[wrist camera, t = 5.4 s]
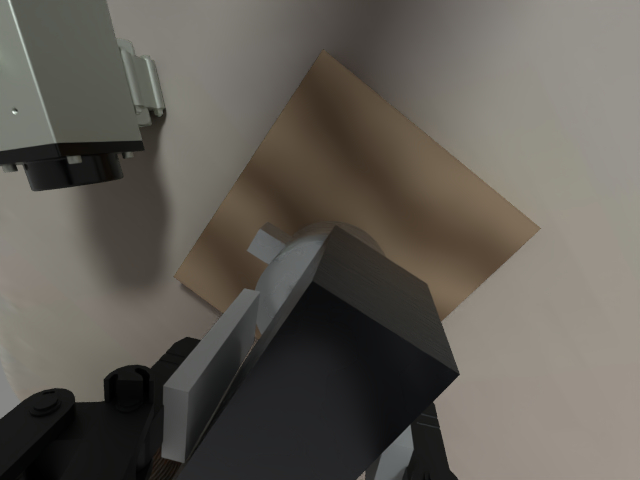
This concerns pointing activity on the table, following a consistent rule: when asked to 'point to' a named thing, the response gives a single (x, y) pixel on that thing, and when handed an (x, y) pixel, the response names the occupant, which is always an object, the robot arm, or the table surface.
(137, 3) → the table surface
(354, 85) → the base
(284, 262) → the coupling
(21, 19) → the pneumatic valve
